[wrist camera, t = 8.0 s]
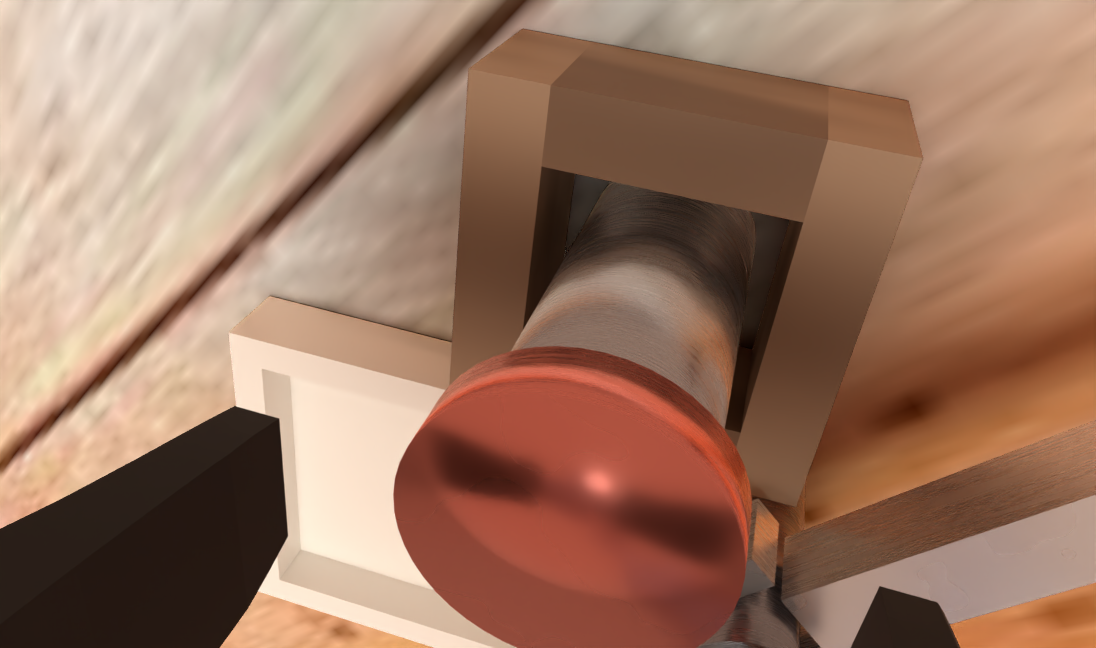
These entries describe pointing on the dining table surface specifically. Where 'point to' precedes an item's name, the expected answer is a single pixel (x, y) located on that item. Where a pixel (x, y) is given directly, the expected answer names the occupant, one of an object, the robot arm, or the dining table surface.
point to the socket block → (698, 173)
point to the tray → (347, 462)
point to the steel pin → (598, 444)
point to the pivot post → (765, 597)
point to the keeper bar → (943, 542)
